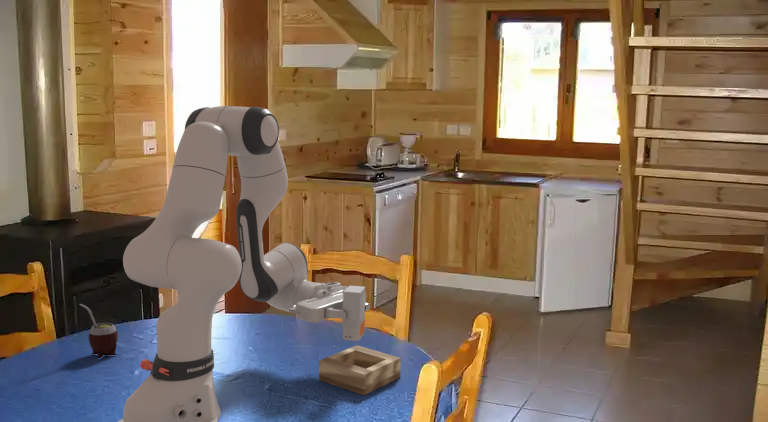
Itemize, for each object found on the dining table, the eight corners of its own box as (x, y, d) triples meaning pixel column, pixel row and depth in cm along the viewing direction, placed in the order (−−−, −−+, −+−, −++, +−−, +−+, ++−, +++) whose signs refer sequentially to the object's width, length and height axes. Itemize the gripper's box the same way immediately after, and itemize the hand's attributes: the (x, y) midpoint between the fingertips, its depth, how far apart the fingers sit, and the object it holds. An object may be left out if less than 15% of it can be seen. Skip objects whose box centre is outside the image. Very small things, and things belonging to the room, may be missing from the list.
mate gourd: (123, 351, 200) (120, 296, 198) (109, 362, 193) (106, 304, 190) (95, 349, 201) (93, 295, 199) (81, 360, 193) (78, 303, 191)
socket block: (364, 395, 175) (364, 374, 174) (319, 380, 183) (319, 360, 182) (400, 377, 185) (400, 358, 185) (356, 364, 194) (356, 345, 193)
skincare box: (359, 341, 181) (360, 293, 179) (342, 340, 181) (342, 291, 179) (365, 333, 186) (365, 286, 184) (348, 332, 187) (348, 285, 185)
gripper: (284, 296, 182) (328, 307, 174) (340, 280, 198) (382, 290, 190) (284, 322, 183) (328, 334, 175) (340, 304, 199) (382, 314, 191)
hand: (357, 311), depth 182 cm, fingers closed on skincare box, 7 cm apart
